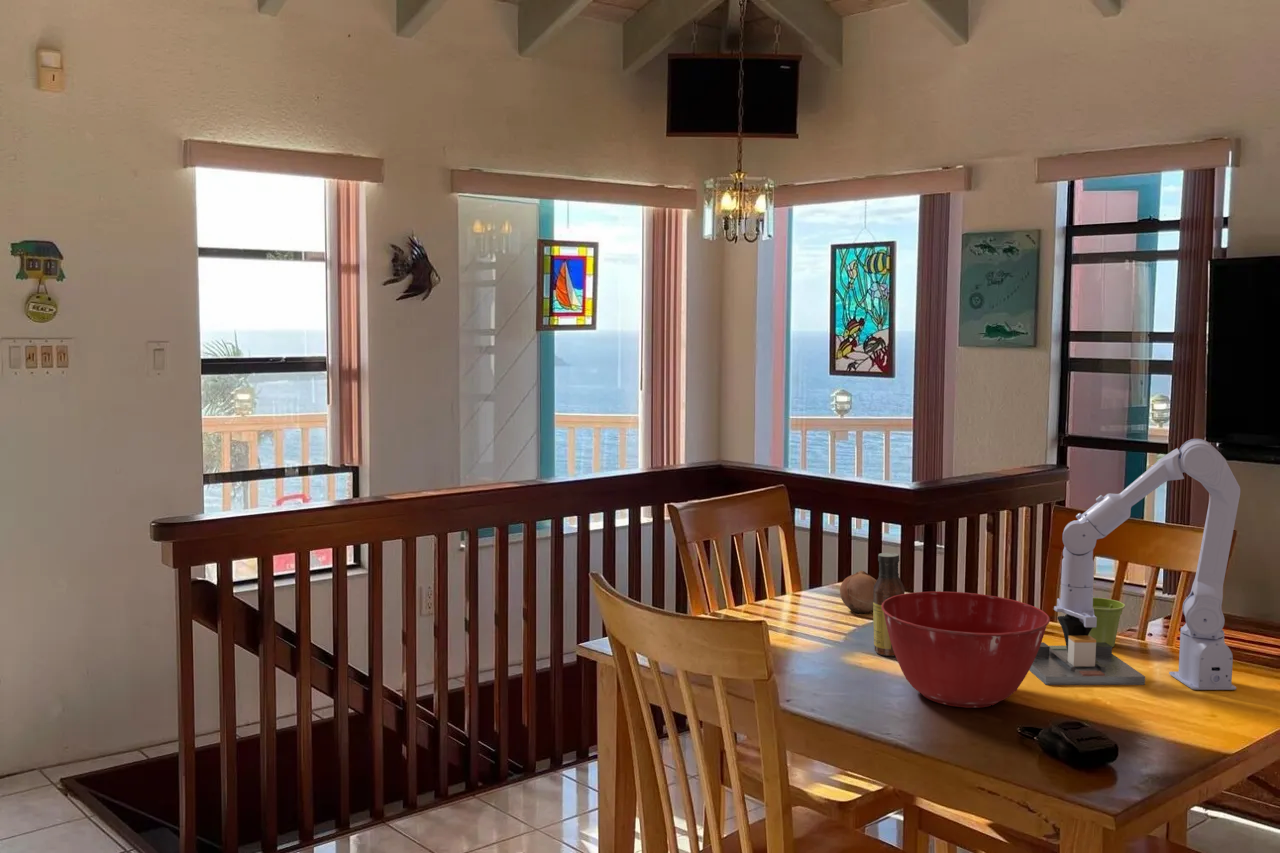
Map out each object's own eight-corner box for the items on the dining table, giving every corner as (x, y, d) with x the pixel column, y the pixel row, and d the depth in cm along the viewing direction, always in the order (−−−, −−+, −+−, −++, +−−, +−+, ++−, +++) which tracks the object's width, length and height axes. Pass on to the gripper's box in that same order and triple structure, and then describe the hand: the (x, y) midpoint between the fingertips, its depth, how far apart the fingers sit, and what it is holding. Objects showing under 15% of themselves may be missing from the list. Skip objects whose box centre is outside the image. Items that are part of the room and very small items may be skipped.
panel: (1144, 684, 211) (1145, 665, 211) (1045, 684, 211) (1046, 665, 211) (1100, 653, 231) (1101, 635, 231) (1009, 653, 231) (1010, 635, 231)
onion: (858, 620, 268) (860, 577, 271) (890, 617, 261) (892, 573, 264) (829, 610, 263) (832, 567, 266) (861, 607, 256) (864, 563, 259)
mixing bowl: (1061, 686, 210) (1064, 602, 209) (1026, 735, 186) (1029, 640, 184) (908, 663, 224) (910, 584, 223) (856, 705, 200) (858, 616, 199)
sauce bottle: (903, 649, 234) (906, 551, 232) (907, 658, 227) (910, 557, 226) (870, 648, 234) (872, 550, 232) (873, 657, 228) (875, 557, 226)
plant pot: (1115, 654, 231) (1117, 611, 230) (1067, 645, 237) (1068, 603, 236) (1128, 643, 238) (1130, 601, 237) (1081, 635, 244) (1083, 595, 243)
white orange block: (1095, 666, 216) (1096, 639, 216) (1073, 666, 216) (1074, 639, 216) (1088, 661, 219) (1089, 635, 219) (1067, 661, 219) (1068, 635, 219)
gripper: (1042, 576, 227) (1040, 644, 228) (1070, 593, 213) (1067, 666, 214) (1078, 576, 227) (1076, 644, 229) (1109, 593, 213) (1106, 666, 214)
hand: (1074, 655), depth 221 cm, fingers closed
